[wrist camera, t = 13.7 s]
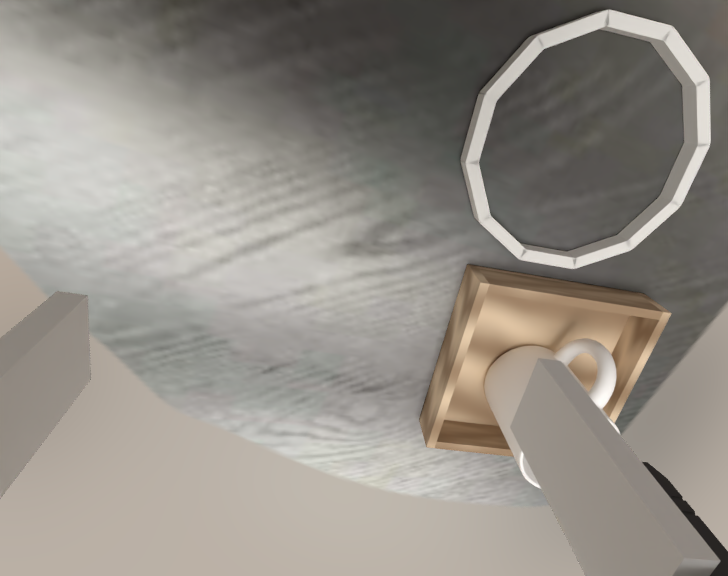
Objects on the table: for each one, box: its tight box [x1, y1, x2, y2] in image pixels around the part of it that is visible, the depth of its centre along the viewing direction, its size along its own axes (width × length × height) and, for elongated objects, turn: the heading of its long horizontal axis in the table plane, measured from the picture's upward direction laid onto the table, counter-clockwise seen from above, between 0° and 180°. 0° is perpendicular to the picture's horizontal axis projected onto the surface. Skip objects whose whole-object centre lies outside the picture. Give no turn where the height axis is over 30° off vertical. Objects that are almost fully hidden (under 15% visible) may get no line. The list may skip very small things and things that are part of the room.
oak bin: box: [419, 264, 672, 457], centre depth 45 cm, size 18×18×4 cm
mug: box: [484, 338, 621, 488], centre depth 42 cm, size 12×8×10 cm
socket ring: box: [460, 10, 711, 269], centre depth 38 cm, size 19×19×2 cm
